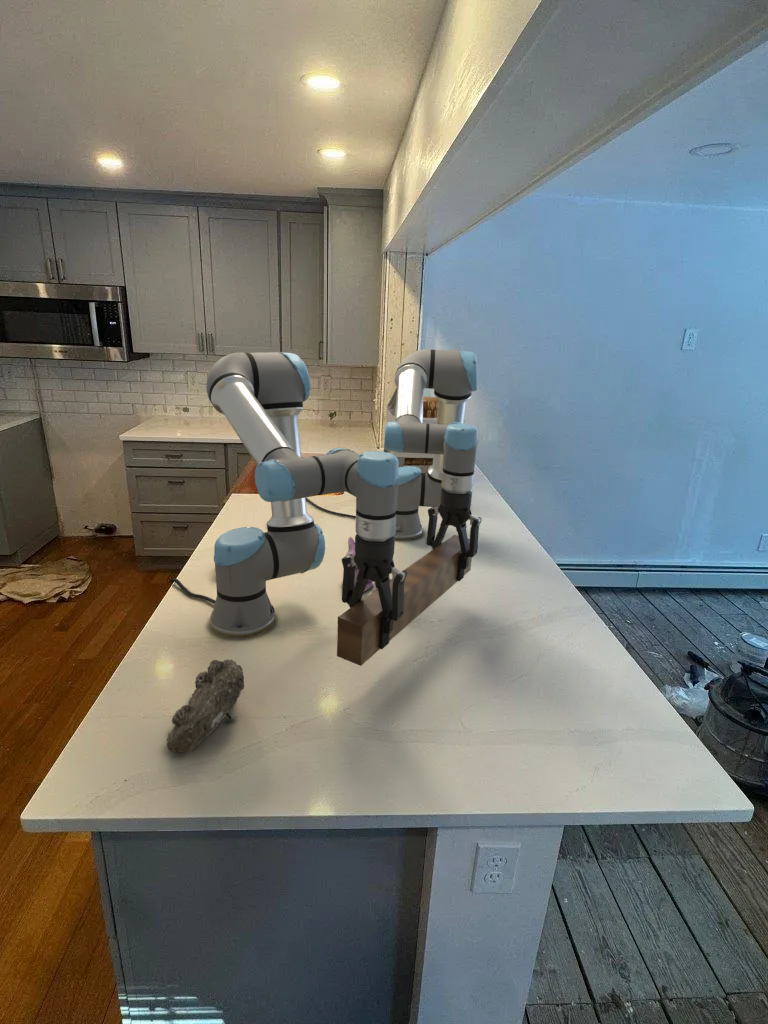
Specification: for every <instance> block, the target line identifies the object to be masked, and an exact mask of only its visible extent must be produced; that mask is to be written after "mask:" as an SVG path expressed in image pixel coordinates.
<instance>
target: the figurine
mask: <svg viewBox="0 0 768 1024" xmlns="http://www.w3.org/2000/svg"><path fill="white" fill-rule="evenodd" d="M347 544H348V545H347V548H348V550H347V552H346V555H345V556H347V555H349V554H352V555H353V556H355V554H356V553H355V539H354V538H353V537H352V536H349V537H348V539H347ZM358 573H359V569H358V567H357V566H356V565H355V580H354V588H355V585H356V582H357V580H356V578H357V576H358ZM372 585H373V581H372V580H368V582H367V585H366V588H365V591H364V592H366V591H368V590H369V589H370V588H372Z"/></svg>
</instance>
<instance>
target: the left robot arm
mask: <svg viewBox="0 0 768 1024" xmlns="http://www.w3.org/2000/svg"><path fill="white" fill-rule="evenodd" d="M211 367H212V368H210V371H209V372H208V375H207V379H206V383H205V384H206V386H205V387H206V388H205V389H206V394H207V397H208V400H209V402H210V403H211V405H212V407H213V408H214V409H215V411H216V412H218V413H219V414H221V415H224V416H225V418H226V420H227V421H228V423H229V424H230V426H231V427H232V429H233V431H234V432H235V434H236V435H237V437H238V438H239V440H240V441H241V443H242V444H243V446H244V448H245V449H246V451H247V452H248V454H249V455H250V457H251V459H252V460H253V461H254V463H255V465H256V466H255V471H254V481H255V482H254V483H255V487H256V488H257V493H258V496H259V497H260V498H261V499H262V500H263V501H265V502H267V503H270V507H271V517H270V519H269V520H268V521H267V522H266V529H267V531H266V532H264V530H262V529H261V528H260V527H255V526H250V527H247V526H242V527H236V528H233V529H230V530H228V531H225V532H224V533H222V534H221V535H220V536H219V537H218V538H217V539H216V540H215V543H214V547H213V548H214V552H213V553H214V554H213V562H214V572H215V573H214V574H215V585H216V587H215V589H216V598H215V599H213V598H211V597H209V596H206V595H203V594H199V593H198V594H197V593H193V592H191V591H190V590H189V589H188V588H187V587H186V586H184V584H183V583H182V582H181V581H180V580H179V579H178V578H175V577H171V578H170V580H169V581H168V582H169V583H175V584H176V585H177V586H178V587H179V588H180V589H181V590H182V591H183V592H184V593H185V594H186V595H187V596H189V597H192V598H194V599H200V600H205V601H207V602H210V603H211V604H213V605H214V606H213V609H212V612H211V615H210V626H211V627H210V628H211V629H212V630H213V632H215V633H216V634H218V635H219V636H220V635H221V636H223V637H227V638H232V639H233V638H235V639H239V638H249V637H254V636H258V635H259V634H262V633H264V632H266V631H268V630H269V629H270V628H271V627H272V626H273V624H274V622H275V614H276V611H275V607H274V605H273V604H272V603H271V600H270V598H269V595H268V593H267V581H271V580H275V579H280V578H284V577H288V576H293V575H298V574H305V573H307V572H309V571H313V570H316V569H318V568H319V567H320V566H321V564H322V563H323V561H324V558H325V553H326V538H325V535H324V531H323V529H322V527H321V526H320V525H319V524H317V523H315V519H314V517H313V516H312V515H310V514H309V513H308V509H307V500H306V498H311V497H316V496H326V495H330V494H331V495H333V494H338V493H344V492H345V493H346V492H347V493H348V494H349V495H351V496H352V497H353V496H354V497H355V516H356V518H355V533H356V534H355V536H354V542H355V553H356V554H355V556H353V555H352V554H349V555H347V554H346V555H347V556H346V555H345V556H344V557H343V558H341V564H342V568H343V572H342V586H341V587H342V588H341V602H342V603H344V604H347V605H348V607H349V609H350V608H351V607H353V606H354V605H355V604H357V603H358V602H360V601H361V600H362V599H363V596H364V594H365V592H366V591H365V588H366V585H367V582H368V580H372V583H374V586H375V589H376V590H377V589H378V593H379V597H380V602H381V607H382V611H383V616H384V617H383V618H381V619H380V634H379V648H380V650H383V649H384V648H385V647H387V646H388V645H389V644H390V641H389V635H390V633H391V632H392V631H393V627H394V621H397V620H398V619H399V618H400V617H401V616H403V614H404V581H405V579H406V576H407V572H406V571H405V569H403V570H400V569H398V568H397V567H396V565H395V563H394V555H395V547H396V546H395V545H396V544H395V543H396V540H395V537H394V535H395V530H396V509H397V495H398V482H399V474H398V465H399V462H398V459H397V457H396V456H395V455H393V454H391V453H385V452H384V451H381V450H370V451H364V452H361V453H360V454H359V453H358V452H356V451H354V450H351V449H349V448H343V447H335V448H332V449H331V450H329V451H328V452H326V454H320V455H310V456H302V446H301V437H300V426H299V425H300V424H299V415H300V414H301V412H302V411H303V410H304V402H306V401H307V400H308V399H309V397H310V395H311V389H312V385H311V378H310V377H311V376H310V374H309V370H308V366H307V365H306V363H305V362H304V360H302V358H301V357H300V356H299V355H297V354H296V353H294V352H293V353H292V352H284V351H283V352H282V351H275V352H274V351H271V352H268V351H267V352H266V351H265V352H233V353H229V354H227V355H225V356H223V357H221V358H220V359H218V360H217V361H216V362H215V363H214V364H213V366H211ZM355 565H356V566H357V567H358V569H359V573H358V576H357V578H356V580H357V582H356V585H355V588H354V580H355ZM390 575H391V577H392V578H390ZM391 579H392V581H393V586H392V594H391V590H390V585H389V583H390V580H391Z"/></svg>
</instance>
